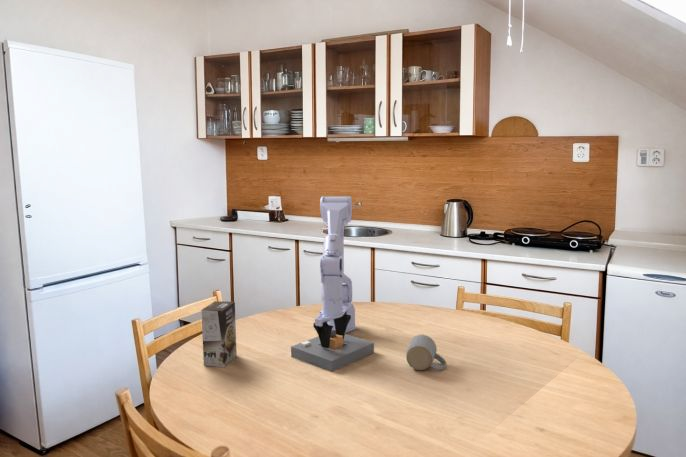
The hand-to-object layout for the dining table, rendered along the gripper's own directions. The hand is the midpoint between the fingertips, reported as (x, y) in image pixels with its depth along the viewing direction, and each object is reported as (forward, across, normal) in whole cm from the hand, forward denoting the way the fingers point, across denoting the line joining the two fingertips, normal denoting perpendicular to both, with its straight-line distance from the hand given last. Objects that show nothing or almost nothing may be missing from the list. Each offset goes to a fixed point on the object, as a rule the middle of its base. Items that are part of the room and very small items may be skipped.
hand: (332, 343), depth 154 cm
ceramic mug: (+4, -7, +26) cm, 27 cm away
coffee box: (+4, +20, -24) cm, 32 cm away
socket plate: (+3, 0, 0) cm, 3 cm away
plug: (+3, 0, 0) cm, 4 cm away
